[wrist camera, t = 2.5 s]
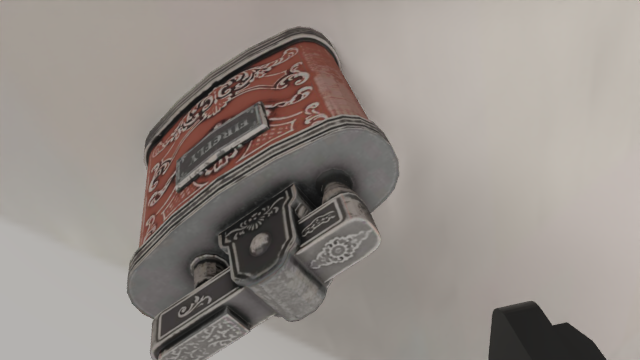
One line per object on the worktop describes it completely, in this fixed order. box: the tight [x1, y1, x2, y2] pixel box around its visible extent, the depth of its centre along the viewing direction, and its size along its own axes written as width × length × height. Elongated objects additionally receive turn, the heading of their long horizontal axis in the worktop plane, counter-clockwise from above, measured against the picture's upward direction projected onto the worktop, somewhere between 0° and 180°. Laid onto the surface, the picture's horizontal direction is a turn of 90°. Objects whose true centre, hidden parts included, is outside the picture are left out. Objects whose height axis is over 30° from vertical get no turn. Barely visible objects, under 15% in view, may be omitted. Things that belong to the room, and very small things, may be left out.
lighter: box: [127, 27, 399, 360], centre depth 16 cm, size 8×3×10 cm, turn 124°
